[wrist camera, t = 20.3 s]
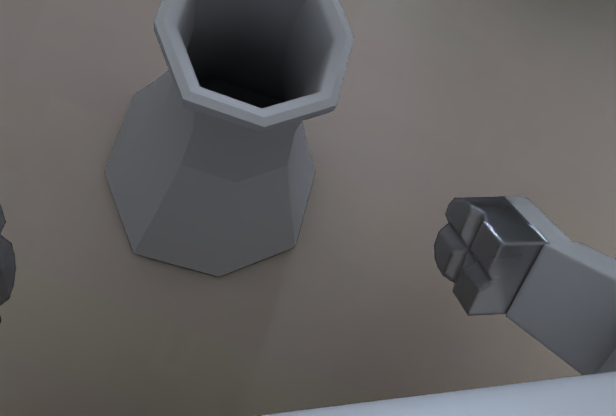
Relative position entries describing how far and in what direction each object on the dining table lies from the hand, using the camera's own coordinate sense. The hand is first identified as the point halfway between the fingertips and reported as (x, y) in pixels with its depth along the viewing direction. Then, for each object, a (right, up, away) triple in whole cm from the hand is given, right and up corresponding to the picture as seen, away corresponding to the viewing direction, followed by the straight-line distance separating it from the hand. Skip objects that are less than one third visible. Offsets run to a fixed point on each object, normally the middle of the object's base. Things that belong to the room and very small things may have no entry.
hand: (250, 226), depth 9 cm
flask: (-2, +1, +8) cm, 9 cm away
